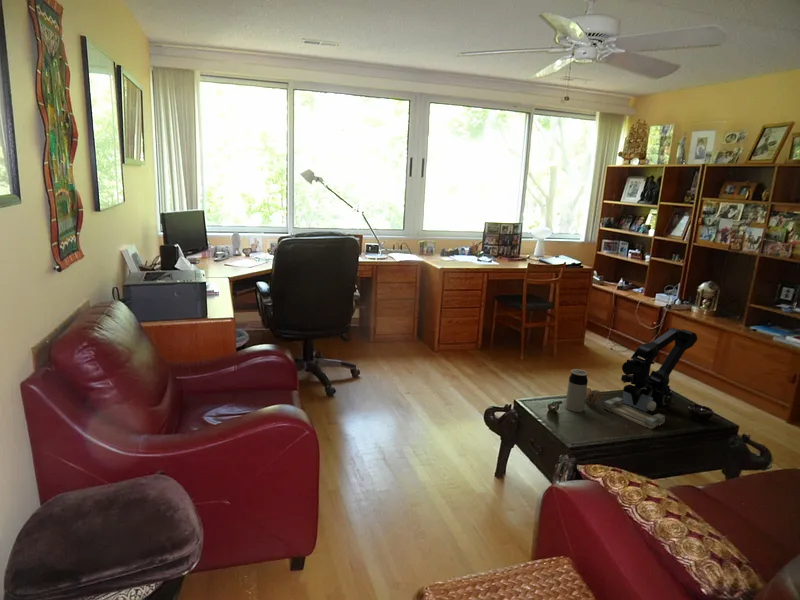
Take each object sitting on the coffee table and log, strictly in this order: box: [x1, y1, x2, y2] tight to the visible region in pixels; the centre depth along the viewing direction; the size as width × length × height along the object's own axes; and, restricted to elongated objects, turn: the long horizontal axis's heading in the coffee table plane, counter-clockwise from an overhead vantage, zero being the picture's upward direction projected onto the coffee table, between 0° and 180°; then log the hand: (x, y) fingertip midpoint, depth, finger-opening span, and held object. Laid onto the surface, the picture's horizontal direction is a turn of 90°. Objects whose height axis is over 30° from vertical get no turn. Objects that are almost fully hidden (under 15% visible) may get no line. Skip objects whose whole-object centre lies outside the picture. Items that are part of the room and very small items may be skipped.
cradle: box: [602, 396, 666, 430], centre depth 228 cm, size 11×23×4 cm, turn 35°
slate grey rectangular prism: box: [622, 391, 657, 413], centre depth 238 cm, size 4×14×6 cm, turn 34°
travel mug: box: [565, 368, 589, 413], centre depth 230 cm, size 8×8×18 cm
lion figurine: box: [585, 387, 604, 408], centre depth 238 cm, size 15×5×9 cm, turn 9°
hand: (637, 403), depth 239 cm, fingers closed on slate grey rectangular prism, 4 cm apart
